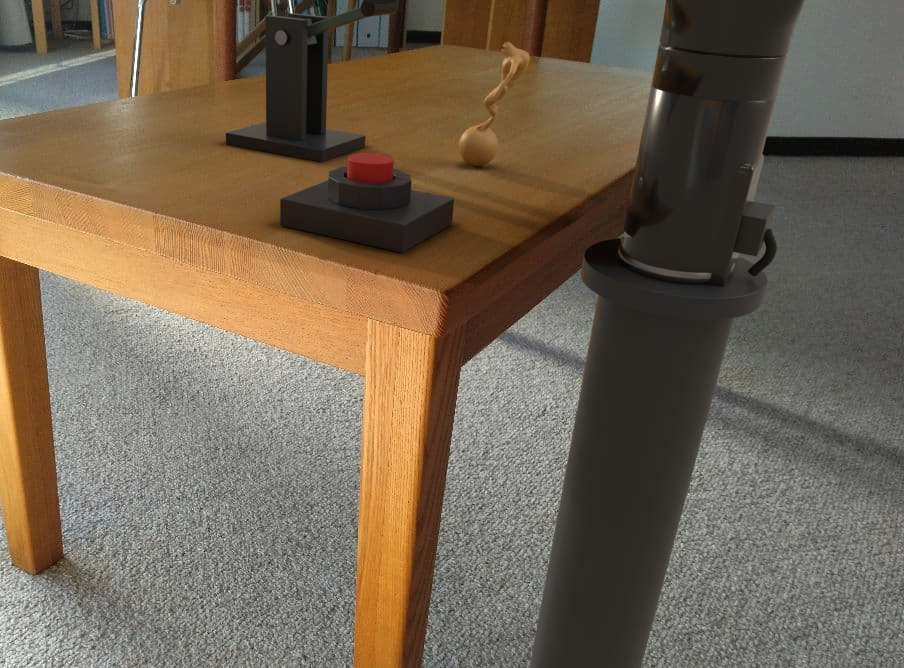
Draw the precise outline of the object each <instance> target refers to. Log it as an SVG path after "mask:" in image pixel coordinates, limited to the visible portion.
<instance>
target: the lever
mask: <svg viewBox="0 0 904 668" xmlns="http://www.w3.org/2000/svg"><path fill="white" fill-rule="evenodd" d="M399 8H400V2H399V0H396V1H395V2H394V3H391V4H374V3H366V2H364V1H363V0H362V1H361V3H360V6H359V7H355V8H353V9H351V10H348V11H345V12H342V13H339V14H336V15H333V16H331V17H329V18H328V19H325V20H322V21H320V22H317V23H314V24H312V22H311V19H307V20H308V36H307V47H308V46H311V45H314V44H317V41H316V37H315V35H318V34H321V33H324V32H327V31H329V32H330V31H332V30H335V29H338V28H341V27H344V26H347V25H350V24H352V23H355V22H358V21H361V20H363V19H366V18H370V17H377V16H384V15H385V16H387V15H393V14H396V13H397V12H398V11H399Z"/></svg>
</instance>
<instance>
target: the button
mask: <svg viewBox="0 0 904 668" xmlns="http://www.w3.org/2000/svg"><path fill="white" fill-rule="evenodd" d="M394 162H395V160H394V158H393V157H392V156H389V155H387V154H381V153H374V152H373V153H372V152H359V153H353V154H351V155H348V157H347V166H346V167H347V179H349V180H353V181H358V182H366V183H383V182H391V181H393V169H394V164H395V163H394Z"/></svg>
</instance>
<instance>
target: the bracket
mask: <svg viewBox="0 0 904 668" xmlns="http://www.w3.org/2000/svg"><path fill="white" fill-rule="evenodd" d="M328 18H330V17H329V16H324V15H323V16H322V15H313V14H304V13H293V12H292V13H291V12H290V13H287V16H280V15H279V16H278V15H272V14H271V15H265V122H262V123H261V122H260V123H257V124H253V125H250V126H246V127H243V128H238V129H235V130H231V131H228V132H225V144H226V145H227V146H228V145H229V146H234V147H240V148H246V149H249V150H256V151H261V152H267V153H272V154H276V155H283V156H288V157H292V158H299V159H303V160H304V159H305V160H308V161H314V162H320V163H322V162H325V161H328V160H331V159H334V158H336V157H339V156H343V155H345V154H348V153H351V152H354V151H356V150H359V149H363V148H365V147H366V135H365V134H358V133H352V132H347V131H340V130H336V129H335V130H334V129H328V128H327V110H328V109H327V108H328V107H327V105H328V104H327V103H328V69H329V68H328V67H329V32H330V31H327V32H324V33H321V34H318V35H315V37H316V41H317V44H314V45H311V46H308V47H307V36H308V20H307V19H311V22H312V24H314V23H317V22H320V21H322V20H325V19H328Z"/></svg>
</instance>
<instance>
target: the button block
mask: <svg viewBox="0 0 904 668" xmlns="http://www.w3.org/2000/svg"><path fill="white" fill-rule="evenodd" d="M279 207H280V208H279V218H280V219H279V224H280V226H282V227H286V228H290V229H295V230H300V231H304V232H308V233H313V234H317V235H321V236H324V237H325V236H326V237H331V238H335V239H338V240H343V241H348V242H351V243H357V244H360V245H365V246H371V247H374V248H379V249H383V250H386V251H387V250H388V251H392V252H396V253H401V254H403V253H405V252H406V251H408V250H410V249H411V248H414V247H415V246H417V245H418V244H420V243H423V242H424V241H426V240H427V239H429V238H431V237H432V236H434V235H436V234H438V233H439V232H441V231H443V230H444V229H446V228H448V227H450V226H451V225H453V217H454V208H455V198H454V197H450V196H444V195H439V194H433V193H428V192H424V191H419V190H412V176H411V174H410V173H409V174H408V173H406V172H404V171H402V170H399V169H395V168H393V181H391V182H383V183H366V182H358V181H353V180H349V179H347V166H340V167H338V168H337V167H336V168H335V169H332V170H329V171H328V179H327V180H325V181H323V182H320V183H317V184H314V185H312V186H310V187H307V188H305V189H302V190H300V191H296V192H294V193H291V194H289V195H285V196H284V197H281V198H280V199H279Z"/></svg>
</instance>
